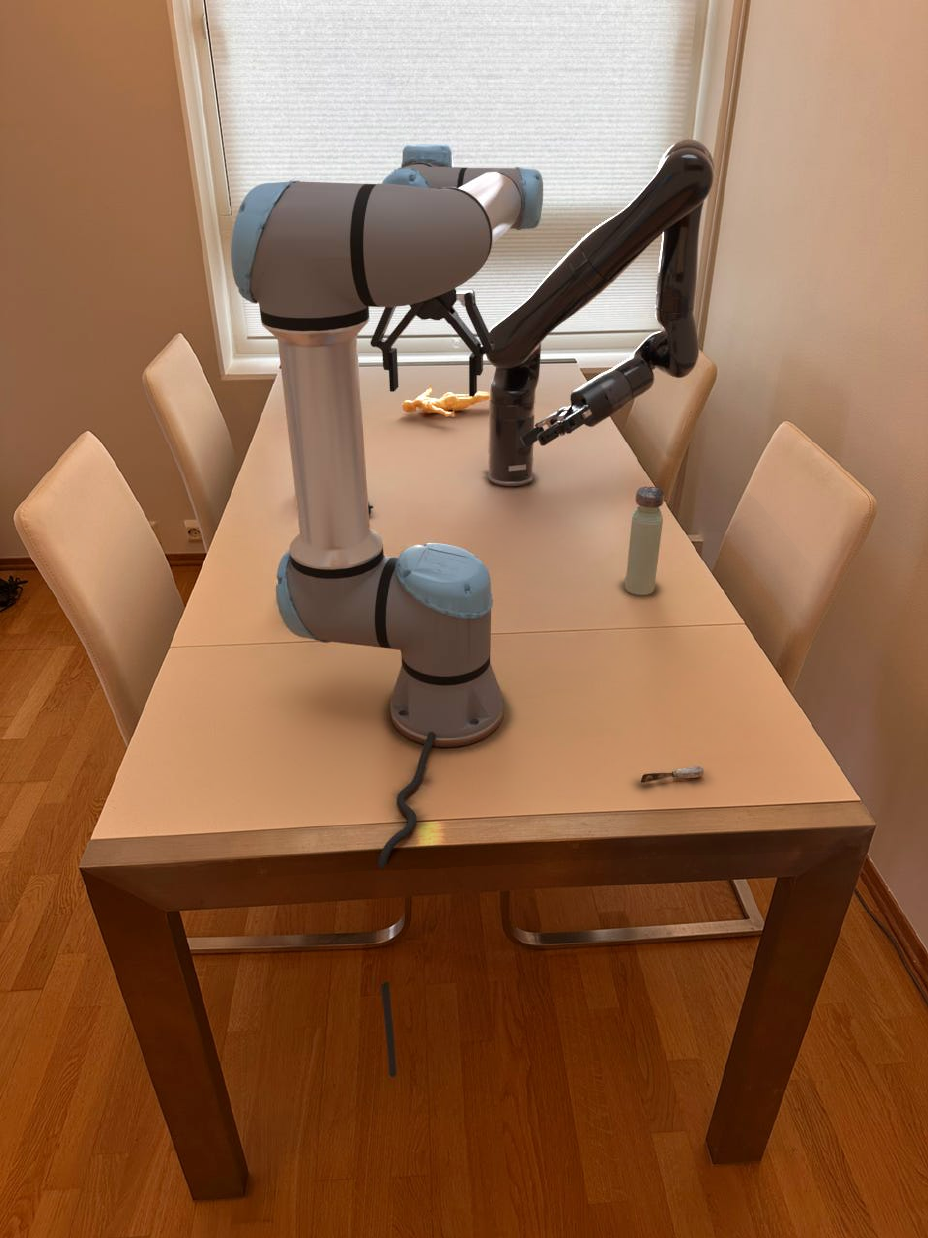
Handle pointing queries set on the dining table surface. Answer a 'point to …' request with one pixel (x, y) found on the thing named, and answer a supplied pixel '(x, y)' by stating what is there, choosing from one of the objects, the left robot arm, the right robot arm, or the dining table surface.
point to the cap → (650, 497)
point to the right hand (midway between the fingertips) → (530, 441)
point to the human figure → (444, 402)
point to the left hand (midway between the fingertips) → (433, 391)
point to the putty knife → (674, 774)
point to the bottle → (643, 550)
